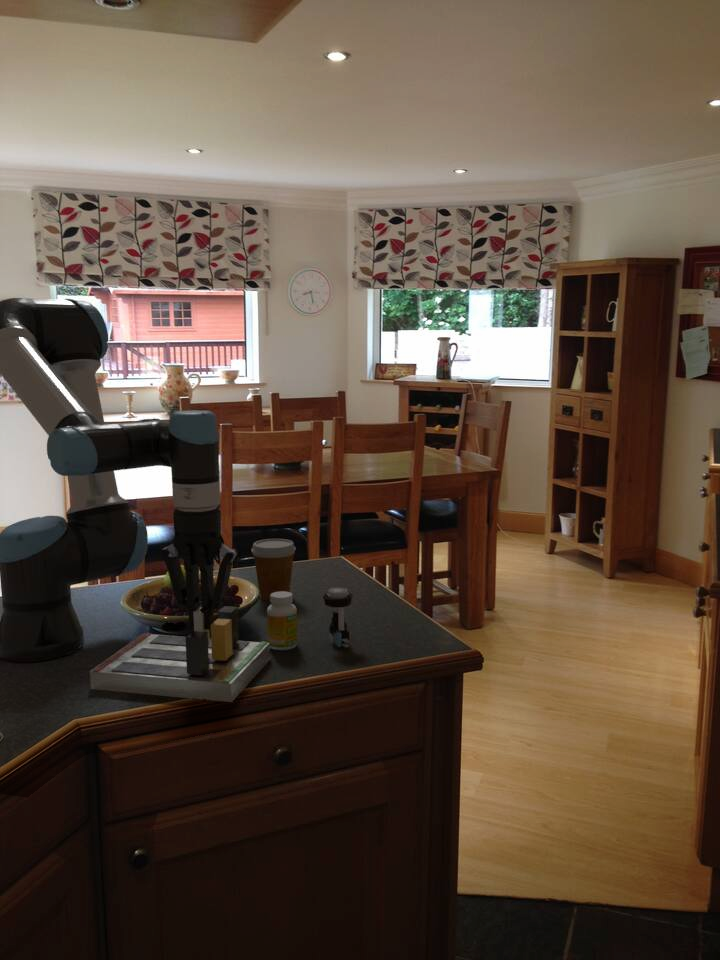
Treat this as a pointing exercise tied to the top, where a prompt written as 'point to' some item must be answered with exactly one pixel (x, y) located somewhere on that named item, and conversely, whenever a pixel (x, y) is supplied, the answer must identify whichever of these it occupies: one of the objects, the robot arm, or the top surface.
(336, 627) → the push button
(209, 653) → the panel
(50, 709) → the top surface
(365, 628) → the top surface
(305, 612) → the top surface
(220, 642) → the block
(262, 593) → the disposable coffee cup
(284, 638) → the supplement bottle
